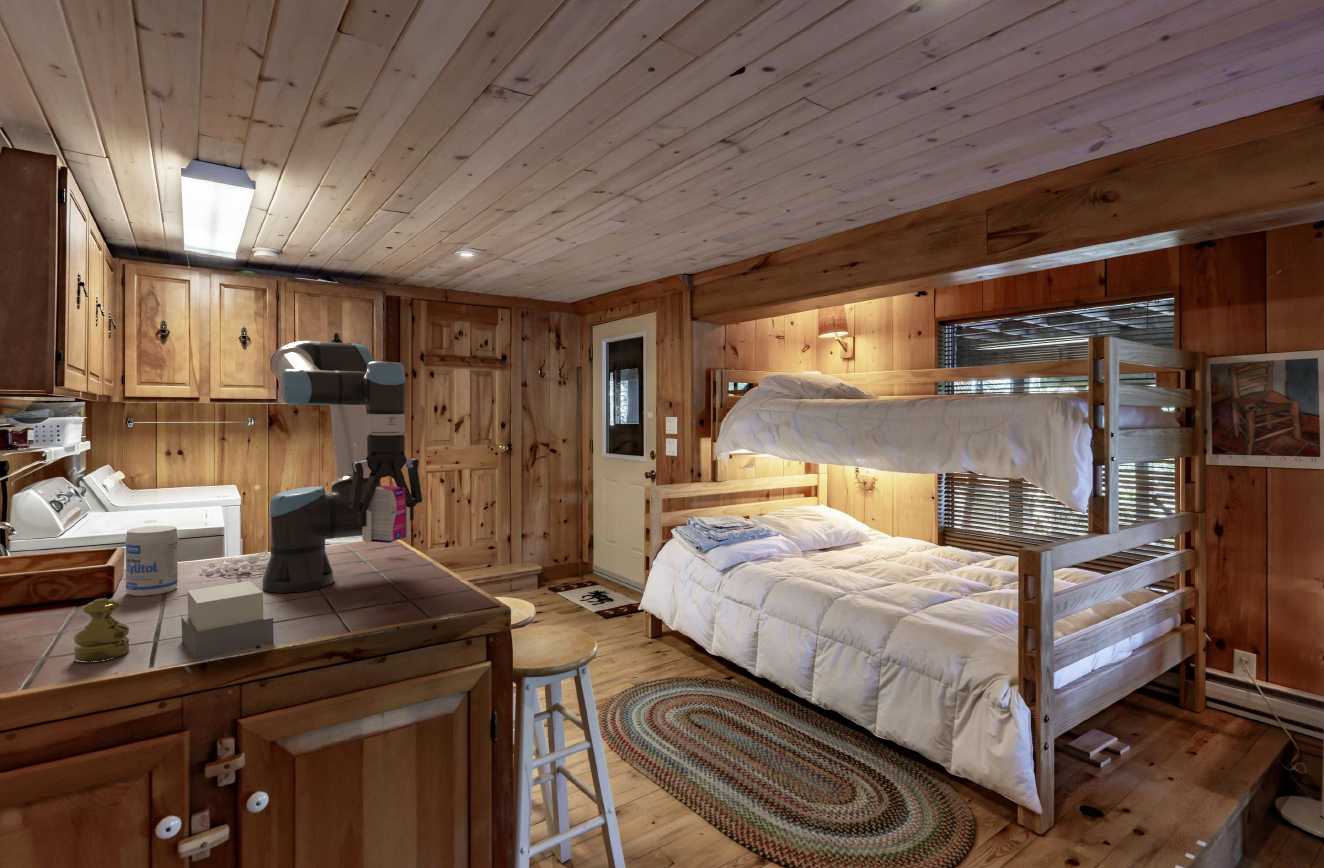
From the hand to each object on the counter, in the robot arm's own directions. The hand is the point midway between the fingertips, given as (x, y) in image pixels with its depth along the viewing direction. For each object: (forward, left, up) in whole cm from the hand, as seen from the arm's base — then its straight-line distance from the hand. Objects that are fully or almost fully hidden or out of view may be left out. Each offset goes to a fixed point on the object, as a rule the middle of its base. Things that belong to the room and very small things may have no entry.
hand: (386, 538), depth 143 cm
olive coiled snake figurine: (-7, -47, -15) cm, 50 cm away
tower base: (0, -30, -16) cm, 34 cm away
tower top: (+1, -30, -11) cm, 32 cm away
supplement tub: (-49, -34, -15) cm, 61 cm away
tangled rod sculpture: (-55, -14, -16) cm, 59 cm away
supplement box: (0, 0, 0) cm, 0 cm away
